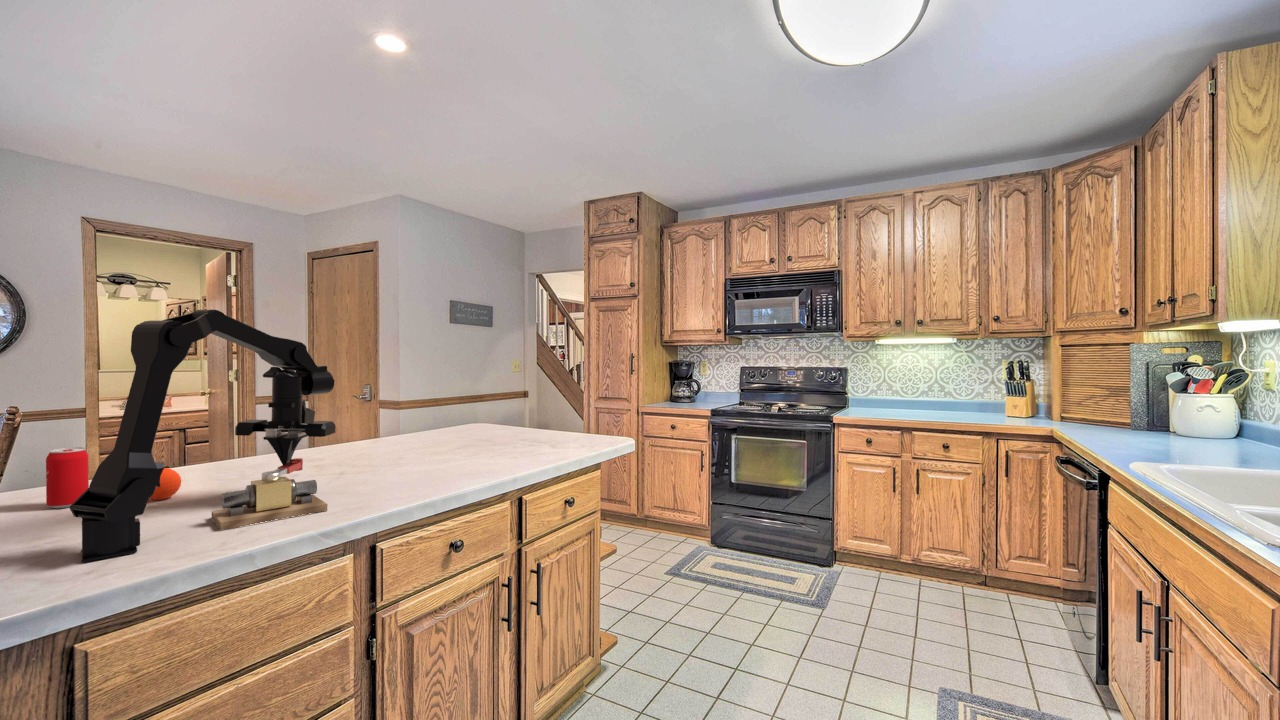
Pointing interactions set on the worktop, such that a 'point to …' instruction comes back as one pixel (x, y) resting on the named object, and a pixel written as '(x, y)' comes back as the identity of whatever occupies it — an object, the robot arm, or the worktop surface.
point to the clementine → (167, 484)
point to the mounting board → (266, 514)
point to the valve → (268, 495)
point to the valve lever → (283, 470)
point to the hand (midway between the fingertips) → (286, 466)
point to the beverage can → (66, 476)
